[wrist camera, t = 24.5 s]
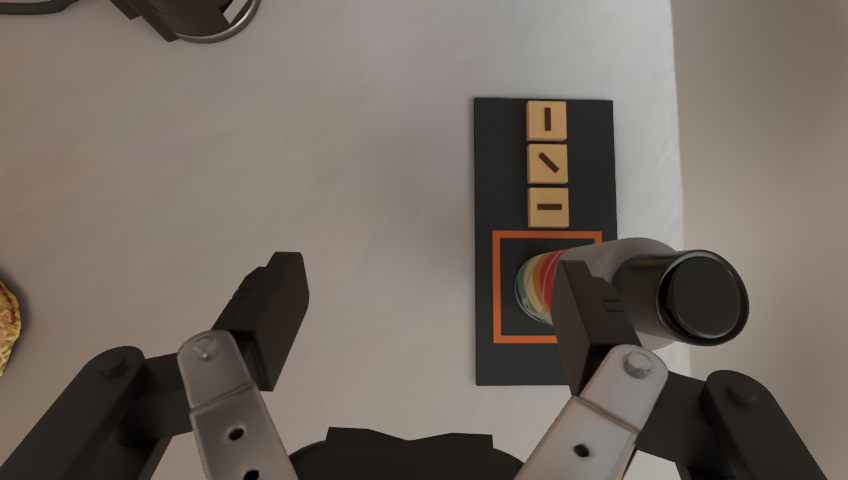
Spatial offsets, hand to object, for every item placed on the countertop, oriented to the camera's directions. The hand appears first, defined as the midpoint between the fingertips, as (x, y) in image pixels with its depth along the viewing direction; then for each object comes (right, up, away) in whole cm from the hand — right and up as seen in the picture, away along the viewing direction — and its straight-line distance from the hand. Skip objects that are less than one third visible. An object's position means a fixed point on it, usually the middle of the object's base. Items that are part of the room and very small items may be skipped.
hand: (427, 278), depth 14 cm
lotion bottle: (+10, -3, +23) cm, 25 cm away
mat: (+10, +1, +24) cm, 26 cm away
